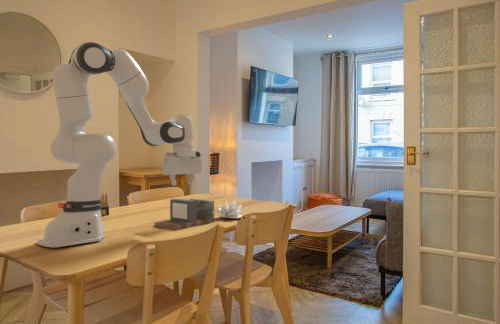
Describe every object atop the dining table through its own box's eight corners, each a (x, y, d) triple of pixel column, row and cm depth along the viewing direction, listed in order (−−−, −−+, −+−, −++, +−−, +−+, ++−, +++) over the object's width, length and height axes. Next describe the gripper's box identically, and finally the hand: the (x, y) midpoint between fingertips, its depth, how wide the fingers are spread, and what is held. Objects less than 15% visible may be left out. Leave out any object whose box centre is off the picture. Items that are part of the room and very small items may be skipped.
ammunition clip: (90, 220, 168) (89, 194, 168) (87, 219, 169) (87, 193, 169) (109, 216, 178) (109, 192, 178) (106, 216, 179) (106, 192, 178)
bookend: (177, 229, 146) (177, 206, 146) (154, 225, 154) (154, 203, 154) (214, 221, 164) (214, 200, 163) (191, 218, 172) (191, 198, 172)
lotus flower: (245, 221, 166) (245, 201, 166) (212, 220, 167) (212, 201, 167) (247, 215, 181) (247, 198, 180) (217, 215, 181) (217, 198, 181)
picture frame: (189, 222, 153) (189, 201, 153) (170, 219, 160) (170, 199, 160) (196, 221, 156) (196, 200, 156) (177, 218, 163) (177, 198, 163)
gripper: (169, 152, 147) (169, 186, 147) (204, 153, 164) (204, 184, 164) (159, 152, 151) (158, 185, 151) (194, 153, 168) (194, 183, 168)
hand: (182, 184), depth 158 cm, fingers open, 8 cm apart
